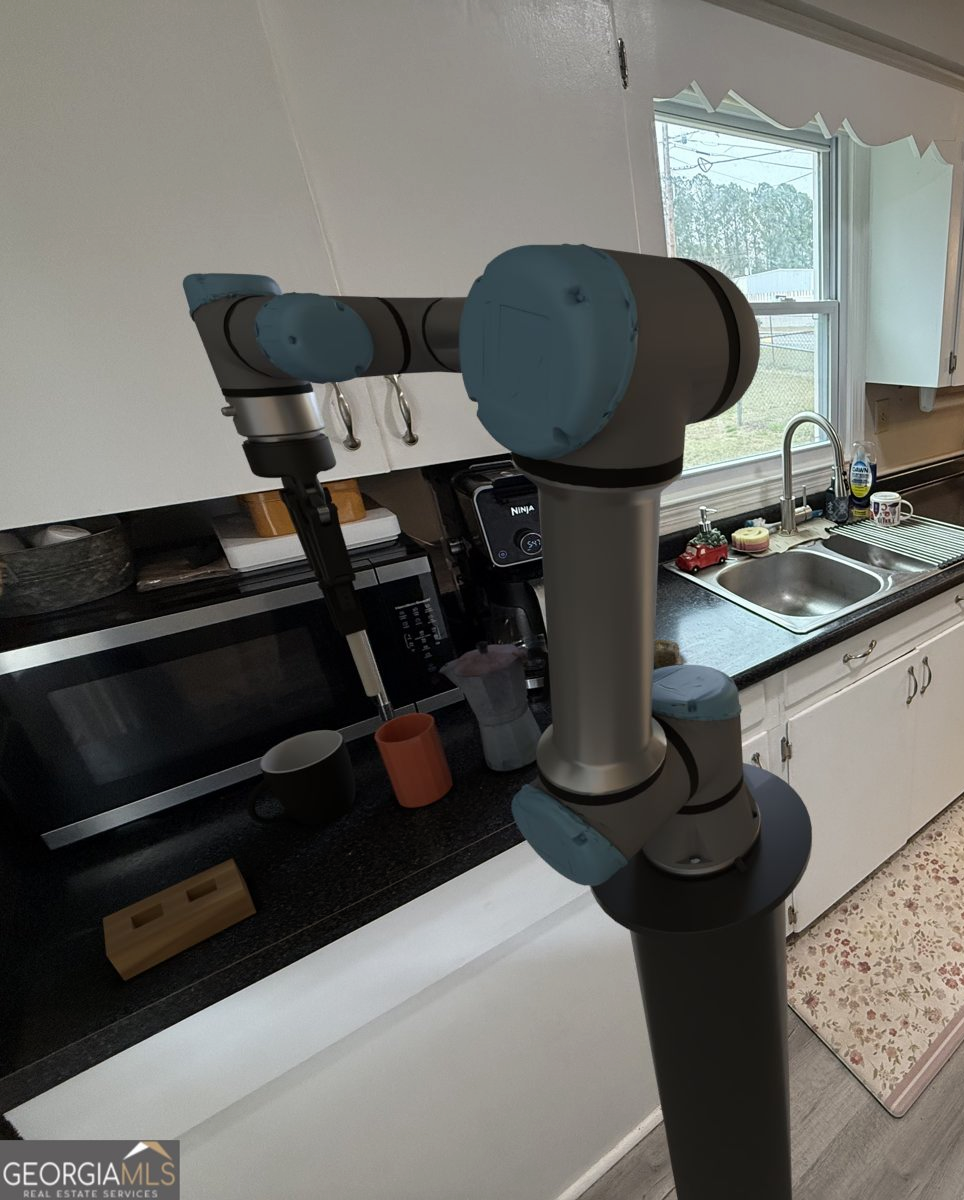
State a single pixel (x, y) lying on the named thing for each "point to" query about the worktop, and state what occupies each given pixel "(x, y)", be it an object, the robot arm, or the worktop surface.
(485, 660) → the moka pot
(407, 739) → the cup
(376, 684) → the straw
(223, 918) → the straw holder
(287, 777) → the mug
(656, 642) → the cake
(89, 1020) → the worktop surface
